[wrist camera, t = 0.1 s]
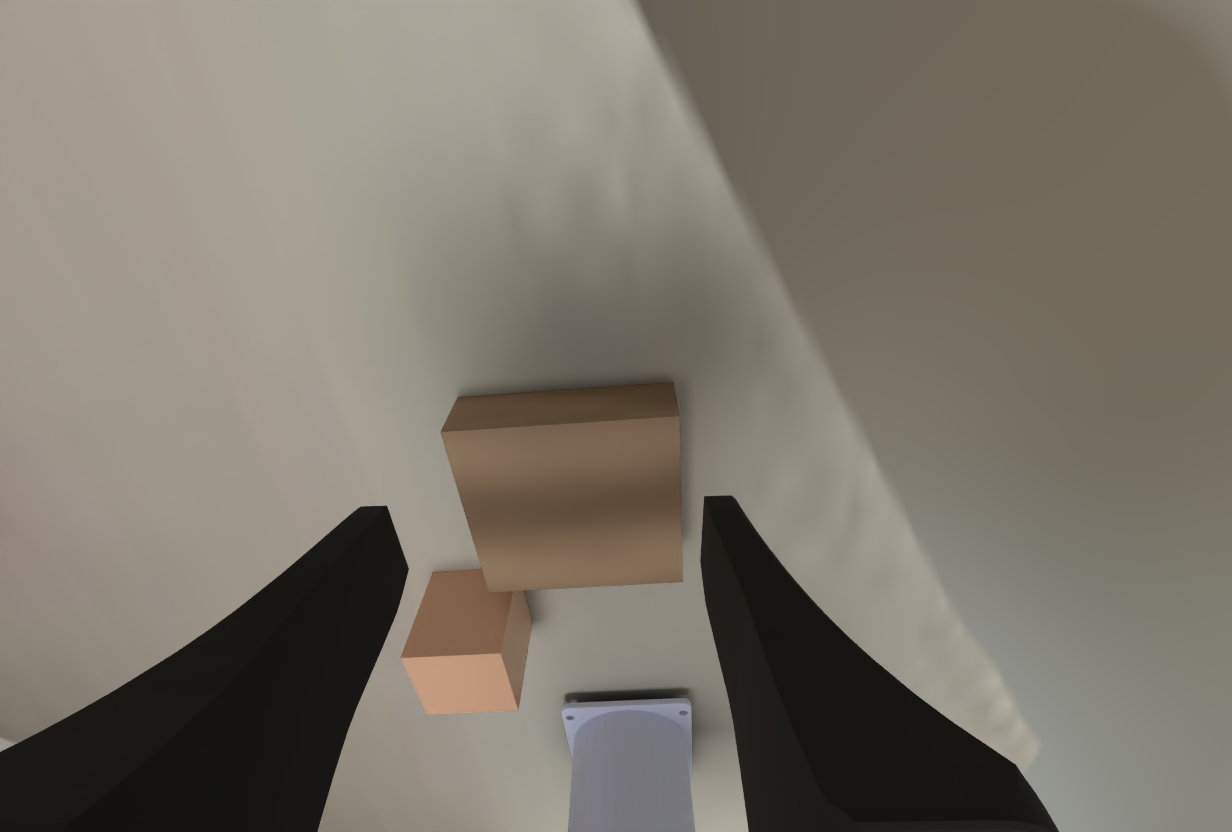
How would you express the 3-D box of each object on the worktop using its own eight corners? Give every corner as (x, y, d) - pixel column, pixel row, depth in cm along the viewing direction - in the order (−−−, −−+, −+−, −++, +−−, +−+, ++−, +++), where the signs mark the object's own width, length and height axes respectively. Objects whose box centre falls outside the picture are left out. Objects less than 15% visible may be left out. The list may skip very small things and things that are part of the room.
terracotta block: (532, 622, 30) (518, 710, 26) (453, 626, 31) (427, 714, 26) (518, 566, 28) (500, 653, 24) (433, 571, 28) (400, 658, 24)
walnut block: (676, 535, 27) (682, 581, 25) (500, 545, 28) (489, 592, 25) (672, 377, 23) (679, 416, 20) (459, 392, 23) (440, 432, 20)
